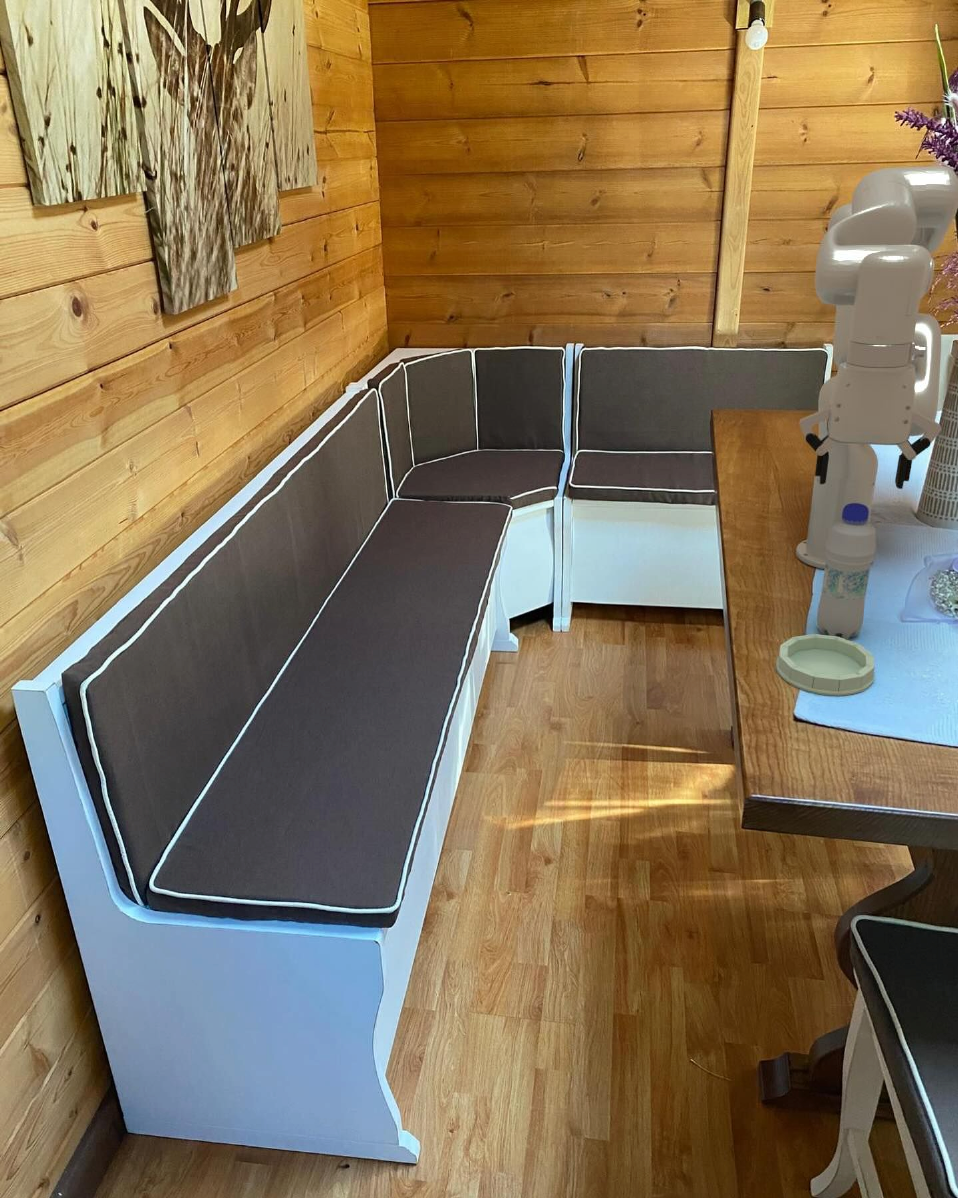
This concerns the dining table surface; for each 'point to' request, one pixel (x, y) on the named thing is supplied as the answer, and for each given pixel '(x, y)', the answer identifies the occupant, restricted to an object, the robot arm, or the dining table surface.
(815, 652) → the dish
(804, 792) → the dining table surface
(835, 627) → the bottle
